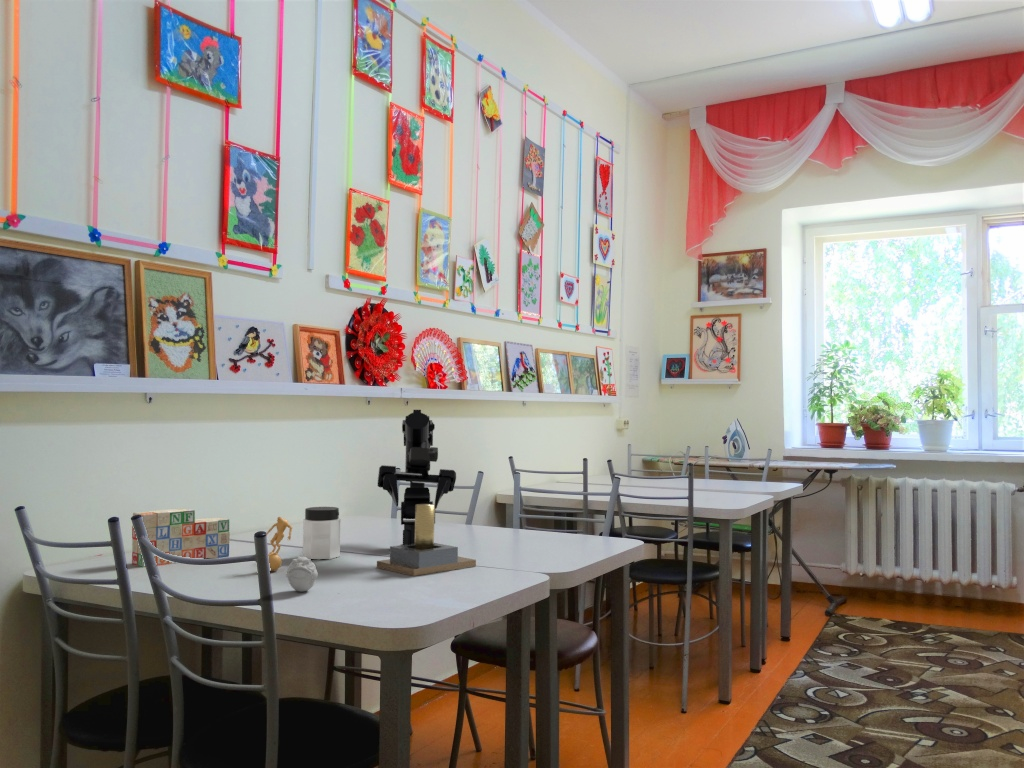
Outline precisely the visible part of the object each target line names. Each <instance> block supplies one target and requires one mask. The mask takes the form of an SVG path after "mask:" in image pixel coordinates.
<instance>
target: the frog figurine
mask: <svg viewBox="0 0 1024 768" xmlns="http://www.w3.org/2000/svg"><path fill="white" fill-rule="evenodd" d="M318 574H319V573H318V570H317V568H316V565H315V563H314V562H312V560H311V559H308V558H307V557H303V556H298V557H297V558H292V559H291V562H290V564H289V565H288V567H287V571H286V573H285V575H286V578H287V580H288V583H289V584H290V586H291V588H292V589H294V590H295V591H297V592H301V593H302V592H303V593H304V592H307V591H309V590H310V589H312V588H313V587H314V585H315V582H316V580H317V578H318V576H319V575H318Z"/></svg>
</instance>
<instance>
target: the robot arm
mask: <svg viewBox="0 0 1024 768" xmlns="http://www.w3.org/2000/svg"><path fill="white" fill-rule="evenodd" d="M412 411H413V412H411V413H409V414H408V415H406V416H405V419H402V423H401V433H402V434H403V446H404V447H405V463H404V465H405V466H404V470H405V471H397V466H396V465H385V464H383V465H380V466H379V468H378V476H377V487H379V488H382V489H383V490H384V491H387V493H388V494H389V495H390V497H391V499H392V500H393V503H394V505H395V506H396V507H399V491H398V490H399V489H398V481H401V482H409V483H410V484H409V486H408V487H406V488H405V490H404V493H403V501H400V525H401V526H403V530H402V544H400V545H406V544H414V543H415V509H416V504H433V505H435V510H436V509H437V508H438V506H439V503H440V501H441V499H442V497H443V496H444V495H445V494H448V493H451V492H453V491H454V488H455V484H456V480H457V472H456V471H455V470H454V469H445V468H443V469H442V468H440V469H439V472H438V474H430V473H429V471H430V470H431V462H435V463H436V462H438V458H439V448H438V447H433V446H434V445H433V444H434V430H435V423H434V421H433V420H432V419H430V416H429V415H427V414H425V413H423V412H422V409H413V410H412ZM430 472H431V471H430ZM426 484H432V485H437V486H436V491H435V497H434V498H435V499H434V502H433V501H431V493H430V489H429V487H425V485H426ZM435 524H436V517H435V518H434V525H435Z"/></svg>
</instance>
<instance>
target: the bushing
mask: <svg viewBox="0 0 1024 768" xmlns="http://www.w3.org/2000/svg"><path fill="white" fill-rule="evenodd" d="M434 518H435V519H436V509H435V504H434V503H433V504H416V509H415V519H414V520H415V547H414V549H419V550H425V549H433V548H434V543H435V524H434Z"/></svg>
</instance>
